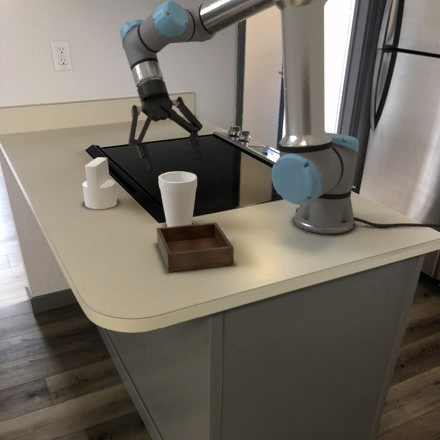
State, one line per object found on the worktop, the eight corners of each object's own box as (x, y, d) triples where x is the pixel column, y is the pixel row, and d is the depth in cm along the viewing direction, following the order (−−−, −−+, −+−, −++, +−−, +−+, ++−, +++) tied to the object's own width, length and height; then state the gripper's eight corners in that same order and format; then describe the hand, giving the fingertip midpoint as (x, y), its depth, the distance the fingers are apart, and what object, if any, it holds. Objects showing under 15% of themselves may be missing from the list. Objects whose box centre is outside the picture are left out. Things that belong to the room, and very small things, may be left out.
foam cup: (178, 216, 132) (177, 169, 125) (204, 225, 127) (204, 176, 120) (153, 226, 126) (150, 177, 119) (179, 236, 121) (178, 185, 114)
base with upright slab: (110, 210, 135) (105, 167, 129) (79, 207, 136) (73, 165, 130) (121, 199, 143) (117, 158, 137) (92, 197, 144) (87, 156, 138)
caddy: (216, 238, 120) (216, 222, 118) (233, 264, 108) (233, 247, 106) (157, 244, 117) (156, 227, 114) (168, 272, 105) (167, 254, 102)
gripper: (190, 82, 134) (213, 157, 135) (102, 98, 126) (127, 178, 127) (198, 70, 127) (222, 149, 128) (105, 86, 119) (131, 170, 120)
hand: (175, 163), depth 128 cm, fingers open, 13 cm apart
